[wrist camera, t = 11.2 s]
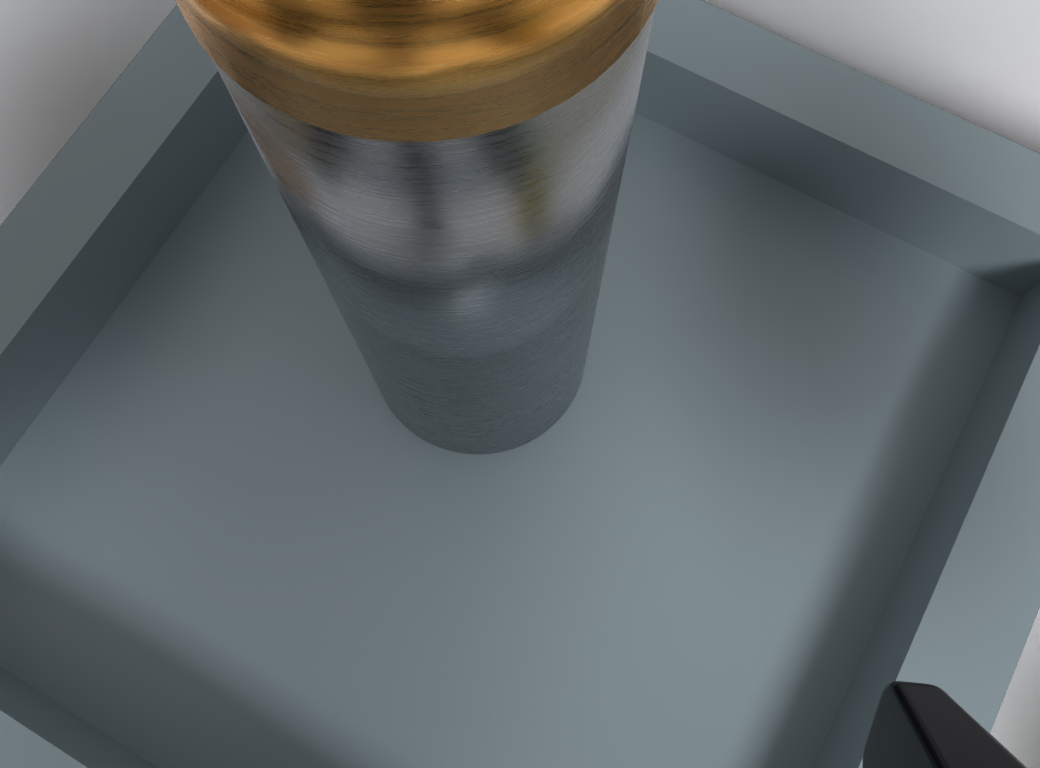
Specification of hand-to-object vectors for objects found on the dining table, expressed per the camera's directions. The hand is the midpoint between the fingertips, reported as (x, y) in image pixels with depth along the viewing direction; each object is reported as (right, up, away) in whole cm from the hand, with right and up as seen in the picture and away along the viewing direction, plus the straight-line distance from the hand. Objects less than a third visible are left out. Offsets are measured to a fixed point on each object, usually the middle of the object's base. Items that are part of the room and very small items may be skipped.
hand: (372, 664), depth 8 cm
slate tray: (+1, +1, +10) cm, 10 cm away
